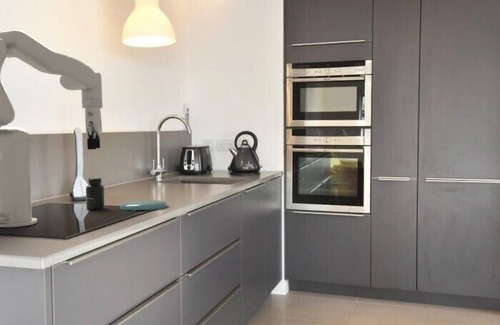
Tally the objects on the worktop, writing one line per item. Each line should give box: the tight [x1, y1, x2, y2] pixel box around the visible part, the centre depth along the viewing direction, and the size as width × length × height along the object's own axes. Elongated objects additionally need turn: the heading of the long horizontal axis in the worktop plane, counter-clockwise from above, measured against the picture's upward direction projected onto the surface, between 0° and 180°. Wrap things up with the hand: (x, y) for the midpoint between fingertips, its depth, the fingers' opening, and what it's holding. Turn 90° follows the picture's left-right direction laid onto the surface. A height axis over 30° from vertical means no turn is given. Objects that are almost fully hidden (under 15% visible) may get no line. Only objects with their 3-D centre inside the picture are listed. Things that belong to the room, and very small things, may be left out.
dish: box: [119, 199, 168, 212], centre depth 199 cm, size 18×18×2 cm
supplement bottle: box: [85, 177, 105, 211], centre depth 196 cm, size 7×7×12 cm
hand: (94, 148), depth 195 cm, fingers open, 9 cm apart
